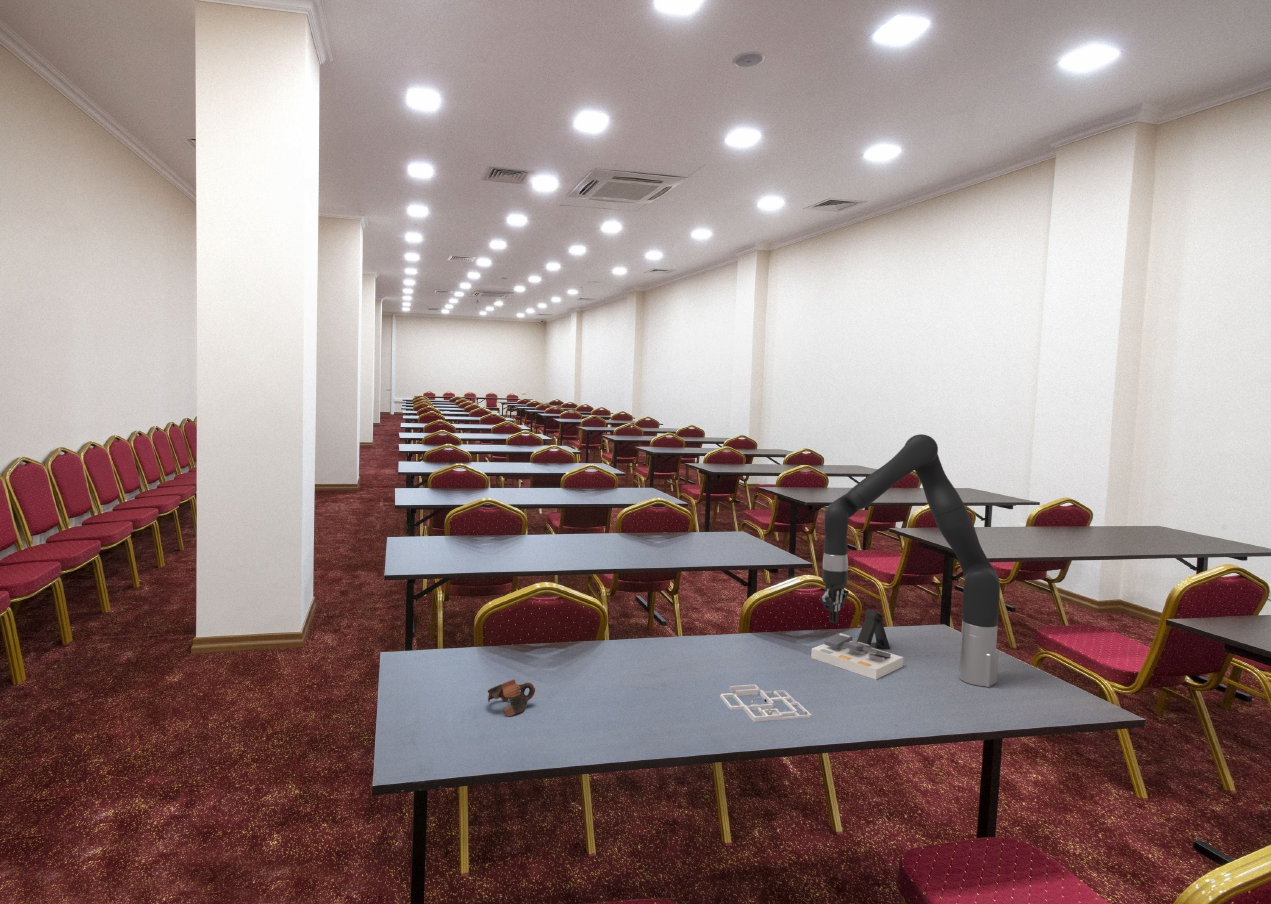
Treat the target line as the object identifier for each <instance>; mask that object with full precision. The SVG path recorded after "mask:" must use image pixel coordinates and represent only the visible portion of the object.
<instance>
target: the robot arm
mask: <svg viewBox="0 0 1271 904" xmlns="http://www.w3.org/2000/svg"><path fill="white" fill-rule="evenodd" d="M938 453H939V446H938V444H937V441H936V440H935V439H934V438H933V437H932V436H930V435H928V434H919V433H918V434H915V435H912V436H911V437H910V438H909V439H908V440H907V441H906V442H905V444H904V446H903V447H902V448H901V449H900V450H899V451H898V452H897V453H896V454H895V455H894V456H893V457H892V458H891V459H890V460H889V461H887V462H886V463H884V464H883V465H882V466H881V467H879V468H878V469H876V470H875V471H873V472H872V473H871V474H868V476H866V477H864V478H863V479H862V480H861V481H860V482H858V483H857V484H855V485H854V486H853V487H852V488H851V489H850V490H848V491H847V492H846V493H845V494H843V495H841V496H840V497H838V498H837V499H836V500H833V502H831V503H829V504H828V506H827V507H826V508H825V511H824V540H823V541H824V542H823V556H822V557H823V558H822V575H821V576H822V583H824V584H825V588H824V594H823V595H822V594H821V595H820V596H819V599H820V602H821V604H822V605H823V608H824V609H825V610H827V611H829V621H828V622H829V623H831V624H837V623H838V622H839V611H841V609H842V608H844V606H845V602H846V600H847V598H848V595H849V590H847V589H845V585H846V584H847V583H848V577H849V576H848V575H849V573H848V571H849V561H848V560H849V559H848V557H849V556H848V546H849V545H848V529H849V519H850V518H851V517H852V516H854V515H855V514H856V513H857V512H859V511H861V510H864V509H866V508H867V507H868V506H869V505H871V504H872V503H874V502H875V501H876V500H877V499H879V498H880V497H882V495H884V494H885V493H886V492H887V491H888V490H890V488H892V487H893V486H894V485H896V483H898V482H899V481H900V480H901V479H904V478H905V476H907V475H909V474H911V473H912V472H914V473H916V476H917V478H918V480H919V481H920V484H921V486H922V489H923V492H924V495H925V499H926V502H927V504H928V507H929V510H930V513H931V515H932V516H933V517H932V518H933V519H934V521H935V523H936V526H937V528H938V530H939V531H940V533H941V535H942V536H943V538H944V540H945V541H946V542H947V543H948V545H949V546H950V548H951V549H952V551H953V552H954V554H955V556H956V558H957V559H958V563H959V565H960V568H961V570H962V573H963V578H964V580H963V581H964V582H963V590H962V591H963V593H962V594H963V595H962V609H961V610H962V619H961V620H962V621H961V635H960V636H961V638H960V640H961V641H960V656H959V672H958V673H959V674H958V677H959V679H960V680H961V681H963V682H965V683H966V684H969V685H973V686H980V687H987V688H990V687H992V686H994V685H995V684H996V683H998V671H999V654H1000V653H999V650H998V649H997V642H998V640H997V639H998V623H999V611H1000V610H999V608H1000V607H999V606H1000V591H1001V579H1000V577H999V575H998V573H997V572H996V570H995V569H994V567H993V565H992V564H991V562H990V561H989V559H988V557H987V556H986V554H985V552H984V550H983V548H982V546H981V544H980V540H979V538H978V533H977V531H976V529H975V525H974V524H973V521H972V518H971V516H970V514H969V512H968V510H967V507H966V506H965V503H964V502H963V499H962V498H961V496H960V495H959V492H958V491H957V490H956V488H955V486H954V485H953V484H952V482H951V481H950V479H949V478H948V477H947V475H946V472H945V470H944V468H943V464H942V461H941V460H940V457H939V454H938Z"/></svg>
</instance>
